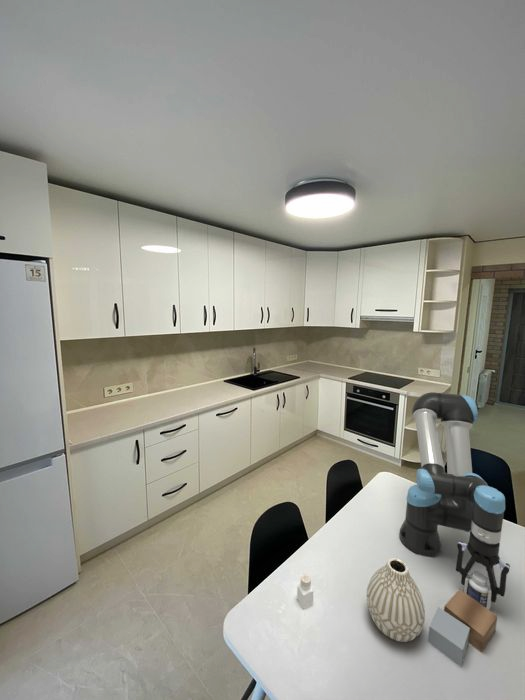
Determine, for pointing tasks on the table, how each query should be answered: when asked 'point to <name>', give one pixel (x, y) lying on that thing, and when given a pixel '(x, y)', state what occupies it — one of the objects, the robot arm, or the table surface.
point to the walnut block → (473, 618)
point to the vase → (395, 602)
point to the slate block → (449, 635)
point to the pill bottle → (478, 588)
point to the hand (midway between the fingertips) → (476, 600)
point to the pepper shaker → (305, 592)
